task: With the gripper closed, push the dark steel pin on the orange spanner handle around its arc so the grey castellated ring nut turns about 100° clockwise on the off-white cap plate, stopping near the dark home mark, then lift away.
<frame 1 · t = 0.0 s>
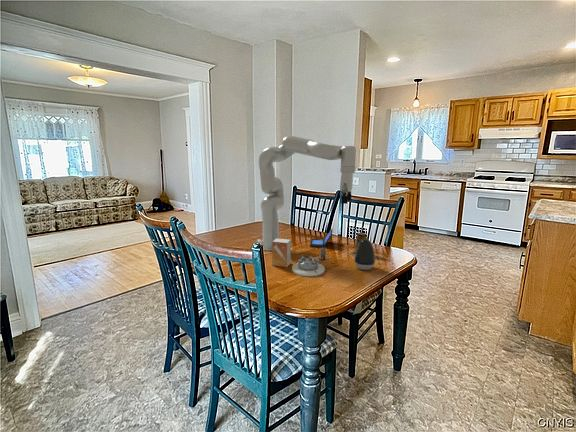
hand: (346, 202, 169), 31 cm above the table, fingers open, 9 cm apart
cap plate: (308, 270, 157), on the table
condiment: (359, 254, 182), on the table
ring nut: (313, 258, 157), point 6 cm above the table, hinge at 0.0°
pump dispenser: (363, 268, 160), on the table
handheld game console: (321, 244, 201), on the table
small box: (281, 264, 164), on the table
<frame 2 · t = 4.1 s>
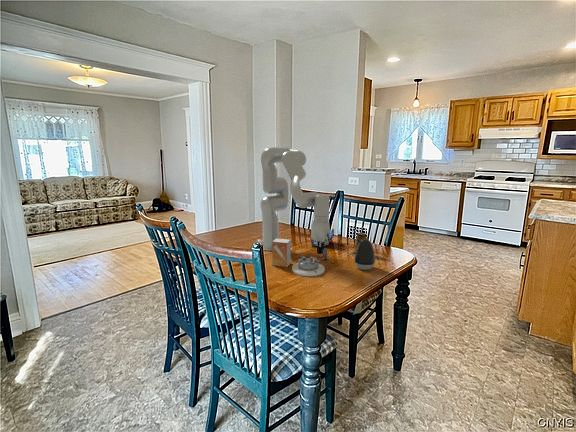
hand: (320, 253, 163), 6 cm above the table, fingers closed
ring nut: (313, 258, 157), point 6 cm above the table, hinge at 6.9°, touching gripper
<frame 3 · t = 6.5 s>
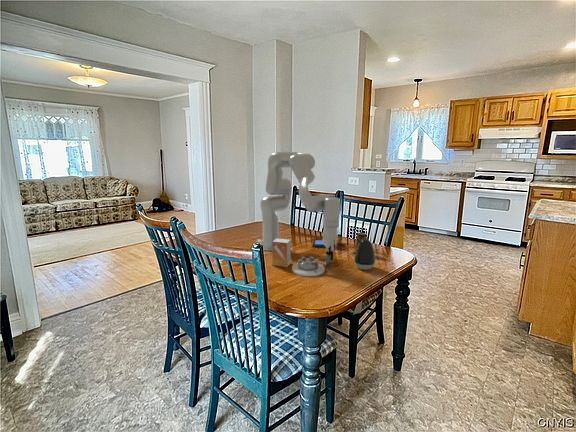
hand: (329, 259, 154), 6 cm above the table, fingers closed
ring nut: (314, 260, 154), point 6 cm above the table, hinge at 63.8°, touching gripper
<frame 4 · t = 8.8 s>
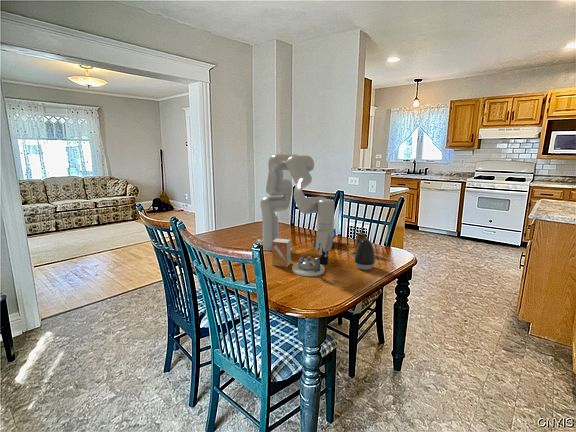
hand: (324, 264, 148), 6 cm above the table, fingers closed
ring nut: (311, 261, 153), point 6 cm above the table, hinge at 106.3°, touching gripper
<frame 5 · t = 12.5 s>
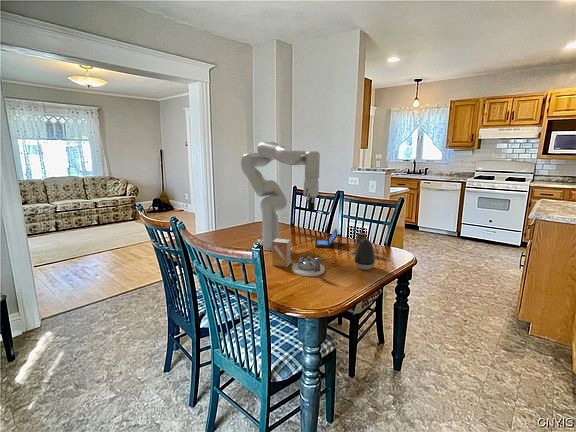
hand: (311, 209, 169), 27 cm above the table, fingers closed
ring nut: (311, 261, 153), point 6 cm above the table, hinge at 106.5°
at the end: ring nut at +106° (first picture: +0°); small box moved 0.2 cm from its start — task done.
